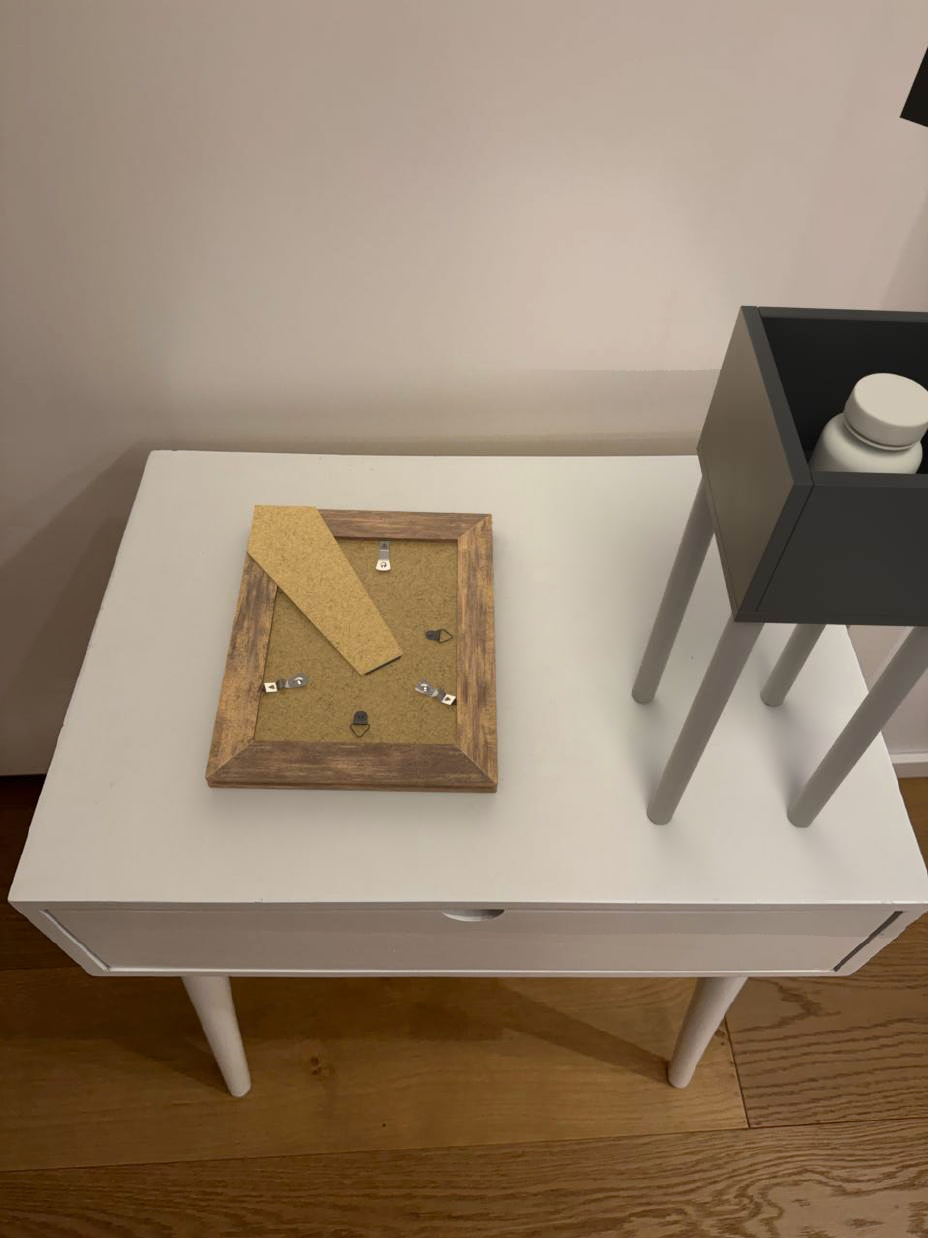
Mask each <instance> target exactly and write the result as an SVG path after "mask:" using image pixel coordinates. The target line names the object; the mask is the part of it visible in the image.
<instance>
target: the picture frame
mask: <svg viewBox="0 0 928 1238" xmlns="http://www.w3.org/2000/svg"><path fill="white" fill-rule="evenodd" d="M493 547H494V545H493V515H492V513H476V512H475V513H473V512H472V513H471V512H470V513H469V512H441V511H439V512H436V511H403V510H402V511H400V510H367V509H365V510H364V509H362V510H360V509H335V508H334V509H332V508H331V509H329V508H317V507H316V506H306V505H305V506H303V505H274V504H273V505H271V504H269V505H267V504H254V508H253V513H252V519H251V526H250V532H249V536H248V542H247V548H246V554H245V557H244V565H243V570H242V576H241V581H240V585H239V591H238V597H237V601H236V608H235V612H234V618H233V623H232V628H231V634H230V639H229V645H228V650H227V655H226V661H225V667H224V671H223V677H222V682H221V687H220V694H219V699H218V704H217V709H216V715H215V721H214V726H213V732H212V736H211V741H210V746H209V752H208V757H207V763H206V768H205V775H204V778H205V781H206V782H207V783H206V784H207V786H208V788H223V789H225V788H227V789H274V790H275V789H277V790H279V789H280V790H327V791H329V790H330V791H331V790H332V791H340V790H341V791H377V792H379V791H382V792H386V791H387V792H434V793H435V792H436V793H437V792H438V793H481V794H482V793H483V794H484V793H485V794H486V793H487V794H488V793H490V794H495V793H497V791H498V785H499V770H498V768H499V767H498V766H499V765H498V763H499V762H498V727H497V725H498V724H497V723H498V722H497V721H498V720H497V684H496V683H497V679H496V638H495V636H496V635H495V632H496V631H495V595H494V594H495V593H494V554H493V552H494V551H493V550H494V548H493Z"/></svg>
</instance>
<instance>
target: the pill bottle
mask: <svg viewBox="0 0 928 1238" xmlns="http://www.w3.org/2000/svg"><path fill="white" fill-rule="evenodd" d="M927 429H928V391H926V390H925V389H924V388H923V387H922V386H921V385H919V384H918V383H916V382H914V381H912V380H910V379H908V378H905V377H902V376H898V375H894V374H886V373H881V374H872V375H869V376H866V377H864V378H862V379H861V380H859V381H858V383H857V384H856V385H855V387H854V389H853V391H852V393H851V395H850V397H849V399H848V400H847V402H846V405H845V409H844V412H843V413H841V414H839V415H837V416H835V417H834V418H832V419H831V420H830V421H829V422H828V423H827V424H826V426H825V427H824V429H823V431H822V433H821V435H820V437H819V439H818V442H817V444H816V446H815V449H814V451H813V453H812V455H811V458H810V460H809V462H808V464H807V465H808V468H809V471H836V472H871V473H906V474H915V473H916V471H917V470H918V468H919V466H920V463H921V460H922V446H921V443H920V440H921V439H922V437H923V436H924V434H925V432H926V430H927Z"/></svg>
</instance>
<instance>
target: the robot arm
mask: <svg viewBox="0 0 928 1238" xmlns="http://www.w3.org/2000/svg"><path fill="white" fill-rule="evenodd" d="M899 119H902V120H905V121H909V122H911V123H914V124H917V125H919V126H922V127H925V128H928V46H926V50H925V52H924V55H923V57H922V60H921V63H920V65H919V67H918V70H917V72H916V75H915V77H914V79H913V81H912V84H911V88H910V90H909V92H908V95H907V96H906V99H905V101H904V104H903V108H902V109H901V112H900V115H899Z"/></svg>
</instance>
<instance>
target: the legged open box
mask: <svg viewBox="0 0 928 1238" xmlns="http://www.w3.org/2000/svg"><path fill="white" fill-rule="evenodd" d="M881 373H886V374H894V375H898V376H902V377H905V378H908V379H910V380H912V381H914V382H916V383H918V384H919V385H921V386H922V387H923V388H924V389H925V390H926V391H928V311H913V310H912V311H911V310H881V309H856V308H855V309H854V308H853V309H852V308H851V309H849V308H824V307H823V308H822V307H795V306H768V305H767V306H764V305H763V306H762V305H760V306H757V305H740V307H739V310H738V312H737V317H736V320H735V322H734V327H733V329H732V332H731V335H730V339H729V343H728V345H727V349H726V352H725V355H724V358H723V363H722V365H721V369H720V371H719V373H718V374H719V375H718V377H717V382H716V384H715V387H714V391H713V394H712V397H711V400H710V403H709V407H708V410H707V414H706V416H705V419H704V423H703V426H702V430H701V432H700V436H699V439H698V442H697V445H696V454H697V459H698V463H699V468H700V472H701V478H700V482H699V484H698V486H697V487H698V488H697V490H696V493H695V497H694V500H693V502H692V506H691V509H690V511H689V515H688V518H687V521H686V524H685V527H684V529H683V534H682V536H681V539H680V542H679V545H678V549H677V552H676V555H675V558H674V561H673V564H672V567H671V571H670V573H669V576H668V579H667V583H666V585H665V589H664V592H663V595H662V597H661V601H660V604H659V607H658V610H657V612H656V616H655V619H654V622H653V625H652V628H651V631H650V635H649V638H648V640H647V643H646V644H647V645H646V647H645V650H644V653H643V656H642V659H641V662H640V665H639V668H638V672H637V674H636V677H635V681H634V683H633V686H632V688H631V689H632V690H631V696H632V698H633V699H634V700H635V701H636V702H637V703H639V704H643V705H647V704H650V703H651V702H653V700H655V698H656V697H655V696H656V694H657V692H658V689H659V685H660V682H661V680H662V677H663V675H664V671H665V669H666V666H667V663H668V661H669V658H670V655H671V654H672V653H671V652H672V650H673V648H674V644H675V642H676V639H677V636H678V634H679V631H680V628H681V626H682V622H683V620H684V617H685V614H686V611H687V609H688V606H689V603H690V601H691V597H692V595H693V592H694V589H695V586H696V585H697V581H698V578H699V575H700V573H701V570H702V567H703V564H704V562H705V559H706V556H707V553H708V550H709V548H710V545H711V542H712V540H713V537H714V535H715V541H716V545H717V550H718V554H719V560H720V565H721V569H722V573H723V578H724V582H725V587H726V591H727V596H728V602H729V606H730V610H731V611H730V615H729V617H728V619H727V622H726V625H725V626H724V629H723V631H722V634H721V636H720V638H719V640H718V643H717V645H716V647H715V650H714V652H713V655H712V657H711V659H710V661H709V663H708V664H709V665H708V666H707V669H706V671H705V674H704V676H703V678H702V680H701V683H700V685H699V687H698V690H697V692H696V694H695V697H694V699H693V701H692V704H691V706H690V709H689V711H688V713H687V716H686V717H685V721H684V722H683V724H682V727H681V729H680V732H679V734H678V737H677V738H676V741H675V743H674V746H673V748H672V750H671V753H670V755H669V758H668V760H667V763H666V764H665V767H664V769H663V771H662V774H661V777H660V778H659V781H658V784H657V786H656V788H655V790H654V793H653V795H652V797H651V800H650V802H649V805H648V807H647V809H646V814H647V817H648V820H650V822H652V823H653V824H654V825H656V826H664V825H665V826H666V825H667V824H669V823H670V822H671V820H672V819H673V816H674V814H675V812H676V810H677V808H678V806H679V804H680V802H681V799H682V797H683V795H684V793H685V792H686V789H687V787H688V785H689V783H690V781H691V779H692V776H693V774H694V773H695V770H696V768H697V766H698V764H699V762H700V760H701V758H702V755H703V754H704V752H705V749H706V747H707V745H708V744H709V741H710V739H711V737H712V735H713V733H714V731H715V728H716V726H717V724H718V722H719V720H720V718H721V716H722V714H723V712H724V710H725V708H726V706H727V703H728V701H729V699H730V697H731V696H732V693H733V691H734V689H735V687H736V685H737V682H738V680H739V678H740V677H741V675H742V672H743V671H744V668H745V666H746V664H747V662H748V660H749V657H750V655H751V653H752V652H753V649H754V647H755V645H756V643H757V641H758V639H759V637H760V634H761V633H762V630H763V628H764V626H765V624H786V625H787V624H789V625H790V624H791V625H792V624H793V625H795V627H794V628H793V630H792V633H791V635H790V636H789V638H788V640H787V642H786V644H785V645H784V648H783V650H782V651H781V653H780V656H779V657H778V659H777V661H776V663H775V664H774V667H773V668H772V670H771V673H770V674H769V676H768V678H767V680H766V682H765V684H764V686H763V688H762V690H761V692H760V698H761V700H762V701H763V703H764V704H766V705H768V706H770V707H779V706H781V705H782V704H783V703H784V701H785V699H786V697H787V696H788V694H789V692H790V691H791V689H792V687H793V685H794V683H795V681H796V680H797V678H798V676H799V674H800V673H801V671H802V669H803V667H804V666H805V664H806V662H807V660H808V658H809V656H810V655H811V653H812V651H813V649H814V647H816V644H817V642H818V641H819V639H820V637H821V635H822V634H823V632H824V630H825V628H826V626H827V625H828V626H829V625H830V626H831V625H832V626H835V625H836V626H868V627H869V626H870V627H871V626H872V627H874V626H875V627H876V626H877V627H910V628H911V627H913V628H912V629H911V630H910V632H909V633H908V634H907V636H906V638H905V639H904V641H903V642H902V644H901V645H900V646H899V648H898V650H897V651H896V652H895V653H894V655H893V656H892V658H891V660H890V661H889V662H888V664H887V665H886V667H885V668H884V670H883V671H882V673H881V674H880V676H879V677H878V678H877V680H876V682H875V683H874V684H873V686H872V687H871V689H870V691H868V693H867V694H866V696H865V697H864V699H863V700H862V701H861V703H860V705H859V706H858V708H857V709H856V710H855V712H854V714H853V715H852V716H851V717H850V719H849V721H848V722H847V723H846V725H845V727H844V728H843V729H842V731H841V733H840V734H839V735H838V737H837V738H836V739H835V741H834V743H833V744H832V745H831V747H830V748H829V750H828V751H827V753H826V755H824V757H823V759H822V760H821V762H820V763H819V765H818V766H817V767H816V768H815V771H813V773H812V775H811V776H810V777H809V778H808V780H807V782H806V784H805V785H804V786H803V788H802V789H801V791H800V792H799V794H798V795H797V796H796V798H795V799H794V800H793V802H792V804H791V805H790V806H789V808H788V810H787V819H788V820H789V822H790V823H791V824H792V825H793V826H795V827H797V828H800V829H804V828H808V827H810V825H812V823H813V822H814V820H816V818H817V817H818V816H819V814H820V813H821V811H822V810H823V808H824V807H825V806H826V805H827V803H828V802H829V800H830V799H831V798H832V796H833V795H834V794H835V792H837V790H838V789H839V787H840V786H841V785H842V784H843V782H844V780H845V779H846V778H847V776H848V775H849V774H850V773H851V771H852V770H853V768H854V767H855V766H856V765H857V763H858V762H859V761H860V760H861V758H862V756H863V755H864V753H865V752H866V751H867V749H869V747H870V746H871V744H872V743H873V742H874V740H875V739H876V738H877V736H878V735H879V734H880V732H881V731H882V729H884V727H885V725H886V724H887V723H888V722H889V720H890V719H891V718H892V716H893V715H894V714H895V712H896V711H897V710H898V708H899V707H900V706H901V704H902V703H903V702H904V701H905V699H906V698H907V696H908V695H909V694H910V693H911V692H912V689H913V688H914V687H915V685H916V684H917V683H918V682H919V680H920V679H921V677H922V676H923V675H924V674H925V672H926V671H927V670H928V429H927V430H926V432H925V434H924V436H923V437H922V439H921V440H920V443H921V446H922V460H921V463H920V466H919V468H918V470H917V471H916V473H915V474H906V473H871V472H836V471H809V468H808V465H807V464H808V462H809V460H810V458H811V455H812V453H813V451H814V449H815V446H816V444H817V442H818V439H819V437H820V435H821V433H822V431H823V429H824V427H825V426H826V424H827V423H828V422H829V421H830V420H831V419H832V418H834V417H835V416H837V415H839V414H841V413H843V412H844V409H845V405H846V402H847V400H848V399H849V397H850V395H851V393H852V391H853V389H854V387H855V385H856V384H857V383H858V381H859V380H861V379H862V378H864V377H866V376H869V375H872V374H881Z"/></svg>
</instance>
